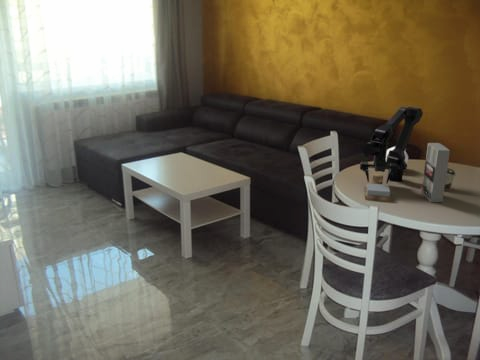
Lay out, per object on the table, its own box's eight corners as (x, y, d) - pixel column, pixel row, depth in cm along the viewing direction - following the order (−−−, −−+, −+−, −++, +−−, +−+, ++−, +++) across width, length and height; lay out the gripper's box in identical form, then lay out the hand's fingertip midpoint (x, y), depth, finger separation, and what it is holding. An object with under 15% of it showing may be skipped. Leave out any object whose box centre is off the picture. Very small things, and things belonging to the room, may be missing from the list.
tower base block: (389, 193, 234) (389, 189, 233) (391, 202, 222) (391, 197, 222) (363, 192, 236) (364, 187, 235) (364, 200, 225) (365, 195, 224)
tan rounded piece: (381, 183, 246) (382, 174, 245) (382, 186, 242) (383, 177, 240) (371, 182, 247) (372, 173, 246) (372, 186, 243) (373, 176, 241)
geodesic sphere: (413, 157, 272) (400, 138, 270) (416, 164, 259) (402, 144, 257) (391, 171, 277) (378, 151, 275) (392, 178, 264) (379, 158, 262)
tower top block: (388, 189, 232) (388, 184, 231) (389, 196, 223) (389, 191, 222) (366, 188, 234) (367, 183, 233) (367, 195, 225) (367, 190, 224)
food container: (453, 187, 241) (456, 168, 238) (453, 190, 236) (456, 171, 233) (427, 183, 246) (430, 165, 243) (426, 187, 241) (429, 168, 238)
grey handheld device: (419, 192, 234) (426, 142, 226) (432, 192, 234) (439, 142, 226) (429, 202, 221) (436, 150, 213) (442, 202, 221) (450, 150, 213)
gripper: (361, 156, 234) (359, 186, 239) (401, 158, 230) (397, 189, 235) (361, 150, 244) (358, 179, 249) (399, 152, 240) (395, 182, 245)
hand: (377, 182), depth 244 cm, fingers open, 9 cm apart
